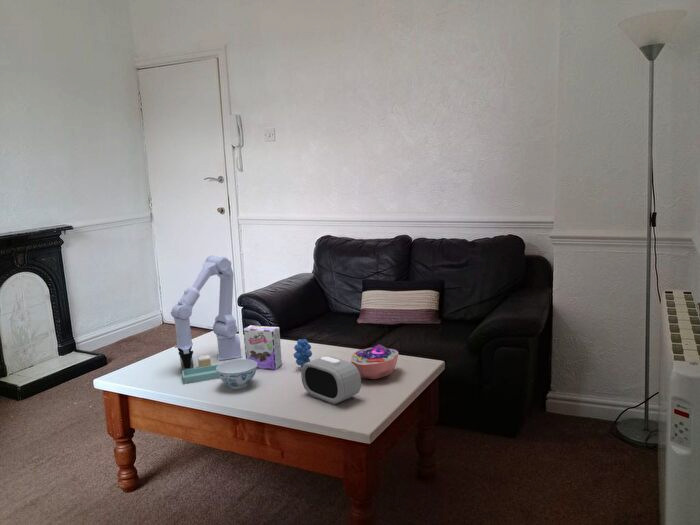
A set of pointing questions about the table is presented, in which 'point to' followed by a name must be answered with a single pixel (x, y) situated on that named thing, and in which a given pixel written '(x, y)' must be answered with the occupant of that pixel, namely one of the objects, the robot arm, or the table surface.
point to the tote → (199, 374)
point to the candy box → (263, 346)
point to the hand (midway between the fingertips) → (187, 365)
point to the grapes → (302, 352)
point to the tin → (183, 364)
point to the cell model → (375, 361)
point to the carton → (204, 361)
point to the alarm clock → (331, 379)
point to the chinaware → (237, 372)
